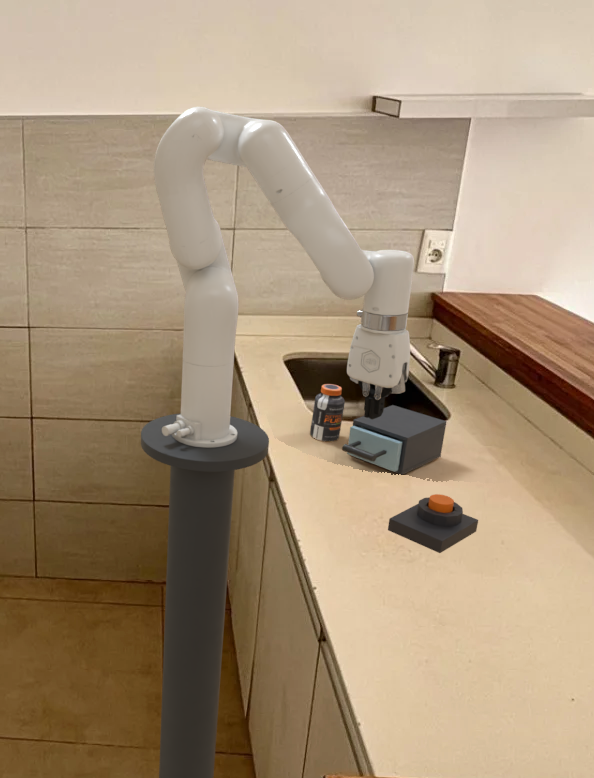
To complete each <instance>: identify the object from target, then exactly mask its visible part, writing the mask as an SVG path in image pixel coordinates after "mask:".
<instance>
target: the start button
mask: <svg viewBox="0 0 594 778" xmlns="http://www.w3.org/2000/svg"><path fill="white" fill-rule="evenodd" d="M429 497H430V499H429V504H428V507H429V508H430V509H432V510H434V511H437V512H442V513H451V512H452V510H453V505H454V502H455V500H454V499H453V498H452V497H451V496H448V495H445V494H440V493H439V494H438V493H436V494H431V495H430V496H429Z"/></svg>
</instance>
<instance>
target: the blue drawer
mask: <svg viewBox="0 0 594 778" xmlns="http://www.w3.org/2000/svg"><path fill="white" fill-rule="evenodd" d="M402 446H403V440H400V439H397V438H395V437H392V436H389V435H386V434H383V433H380V432H377V431H374V430H371V429H368V428H365V427H362V426H361V428H359V427H357V426H353V425H352V426H350V427H349V433H348V444H347V443H344V444H343V445H342V447H341V450H342V451H343V452H345V453H346V454H347V455H349V456H350V457H353V456H354V458H357V459H358V460H361V459H362V461H364V462H367V463H369V462H370V463H369V464H372V465H374V464H375V465H374V466H377V465H378V467H380V468H382V467H383V468H382V469H385V468H386V469H385V470H388V471H390V470H391V472H393V471H394V472H393V473H396V472H395V471H398V467H399V465H400V459H401V453H402Z"/></svg>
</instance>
